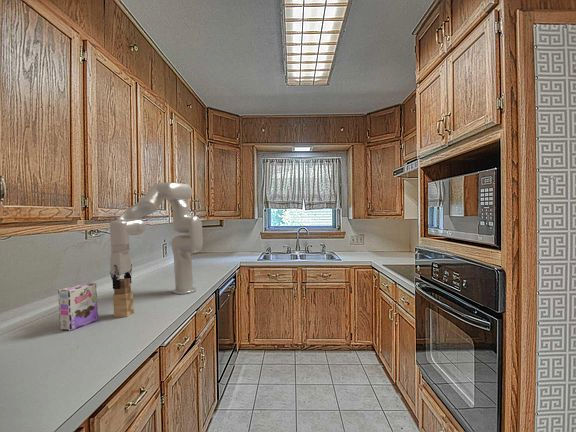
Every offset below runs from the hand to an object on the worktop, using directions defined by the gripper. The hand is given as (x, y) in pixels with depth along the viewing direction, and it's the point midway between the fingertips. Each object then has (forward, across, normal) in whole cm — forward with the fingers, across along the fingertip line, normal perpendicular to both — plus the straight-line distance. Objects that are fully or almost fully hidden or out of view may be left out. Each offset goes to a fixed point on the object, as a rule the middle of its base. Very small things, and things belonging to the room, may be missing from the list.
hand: (122, 286), depth 165 cm
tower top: (+8, 0, 0) cm, 8 cm away
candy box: (+13, +13, -12) cm, 22 cm away
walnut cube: (+3, 0, 0) cm, 3 cm away
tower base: (+13, 0, 0) cm, 13 cm away
